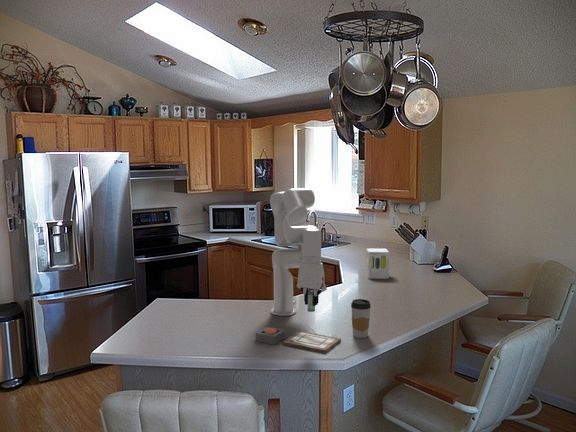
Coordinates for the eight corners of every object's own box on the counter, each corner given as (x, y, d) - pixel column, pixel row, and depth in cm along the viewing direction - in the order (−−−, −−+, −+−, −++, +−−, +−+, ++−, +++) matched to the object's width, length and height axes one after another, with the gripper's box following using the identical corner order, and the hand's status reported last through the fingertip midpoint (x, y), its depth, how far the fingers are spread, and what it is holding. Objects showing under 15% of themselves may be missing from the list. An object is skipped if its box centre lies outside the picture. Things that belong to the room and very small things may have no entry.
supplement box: (367, 278, 314) (368, 251, 313) (365, 274, 328) (365, 248, 326) (388, 278, 314) (389, 251, 312) (385, 274, 327) (386, 248, 325)
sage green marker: (309, 309, 201) (309, 290, 200) (316, 310, 200) (316, 291, 199) (306, 311, 199) (306, 291, 198) (312, 312, 197) (313, 292, 196)
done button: (268, 331, 210) (268, 326, 210) (278, 333, 207) (278, 328, 207) (262, 335, 205) (262, 330, 205) (272, 337, 203) (272, 332, 203)
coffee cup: (368, 332, 216) (368, 298, 214) (371, 338, 207) (372, 304, 206) (349, 332, 215) (349, 298, 214) (352, 339, 207) (352, 304, 205)
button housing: (267, 334, 213) (267, 326, 212) (285, 337, 208) (285, 330, 208) (255, 340, 205) (255, 332, 205) (274, 344, 201) (274, 336, 200)
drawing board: (300, 333, 214) (300, 330, 214) (340, 341, 204) (340, 338, 204) (282, 344, 201) (282, 341, 201) (325, 353, 191) (325, 350, 191)
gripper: (289, 259, 198) (289, 304, 200) (326, 263, 190) (325, 309, 192) (297, 256, 204) (297, 299, 206) (334, 260, 196) (333, 305, 198)
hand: (311, 304), depth 199 cm, fingers closed on sage green marker, 3 cm apart
